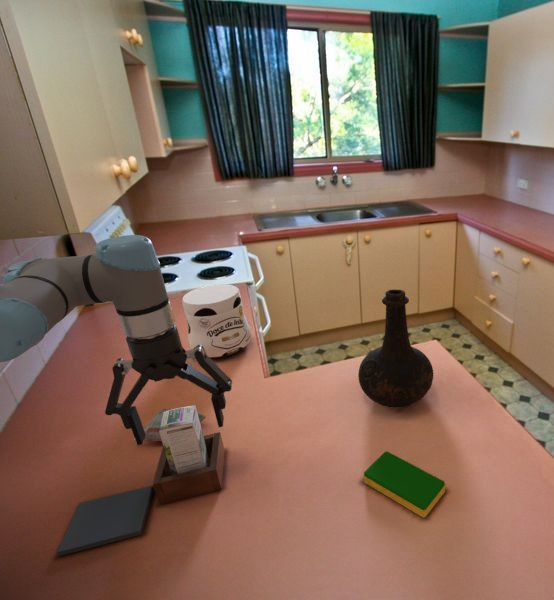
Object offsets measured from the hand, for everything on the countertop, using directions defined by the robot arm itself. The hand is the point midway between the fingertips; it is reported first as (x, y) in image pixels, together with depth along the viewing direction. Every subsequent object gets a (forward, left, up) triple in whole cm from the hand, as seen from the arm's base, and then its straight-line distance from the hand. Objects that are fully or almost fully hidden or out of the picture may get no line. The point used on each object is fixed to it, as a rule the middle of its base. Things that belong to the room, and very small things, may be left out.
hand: (182, 431), depth 79 cm
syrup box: (0, 0, -11) cm, 11 cm away
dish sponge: (+38, -16, -11) cm, 43 cm away
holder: (0, 0, -11) cm, 11 cm away
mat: (-13, -6, -11) cm, 18 cm away
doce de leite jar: (+2, +52, -11) cm, 53 cm away
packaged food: (-6, +14, -11) cm, 19 cm away
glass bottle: (+45, +11, -11) cm, 47 cm away
